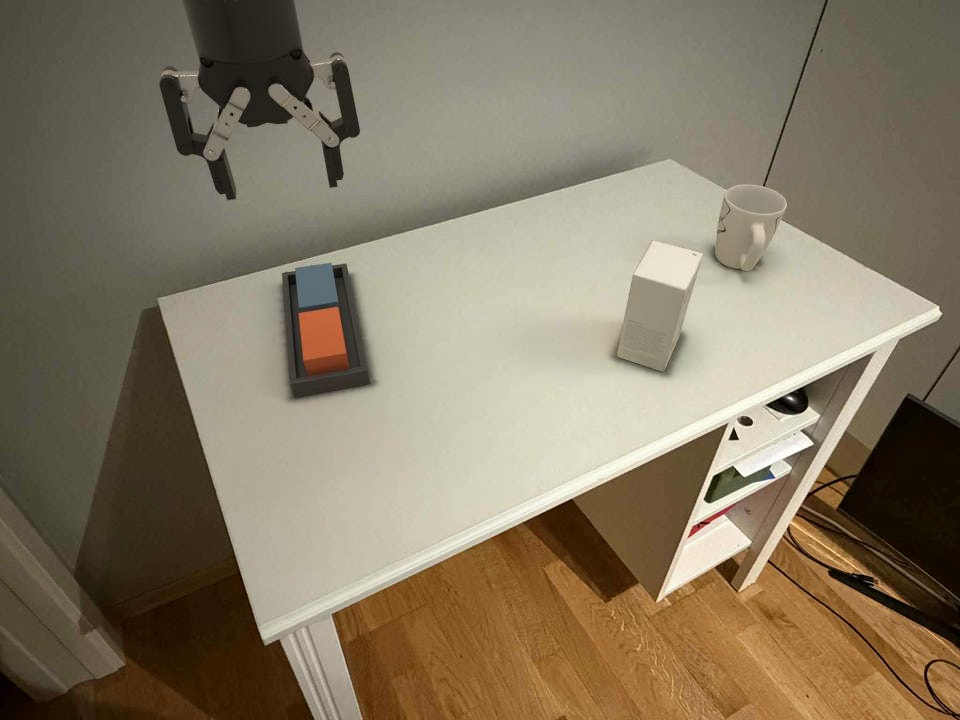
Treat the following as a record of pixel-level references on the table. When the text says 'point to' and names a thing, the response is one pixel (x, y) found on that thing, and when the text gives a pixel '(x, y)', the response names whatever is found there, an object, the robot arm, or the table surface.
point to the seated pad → (316, 288)
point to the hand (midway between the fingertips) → (283, 189)
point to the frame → (352, 338)
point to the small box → (658, 304)
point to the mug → (747, 224)
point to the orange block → (323, 341)
